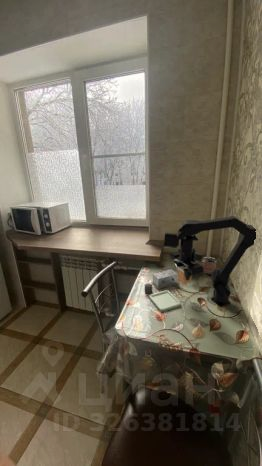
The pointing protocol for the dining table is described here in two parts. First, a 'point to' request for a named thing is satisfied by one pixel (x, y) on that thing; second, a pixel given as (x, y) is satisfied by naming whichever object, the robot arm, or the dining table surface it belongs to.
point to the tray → (164, 300)
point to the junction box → (165, 279)
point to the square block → (183, 275)
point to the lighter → (209, 265)
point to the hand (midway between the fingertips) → (184, 278)
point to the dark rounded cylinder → (148, 288)
